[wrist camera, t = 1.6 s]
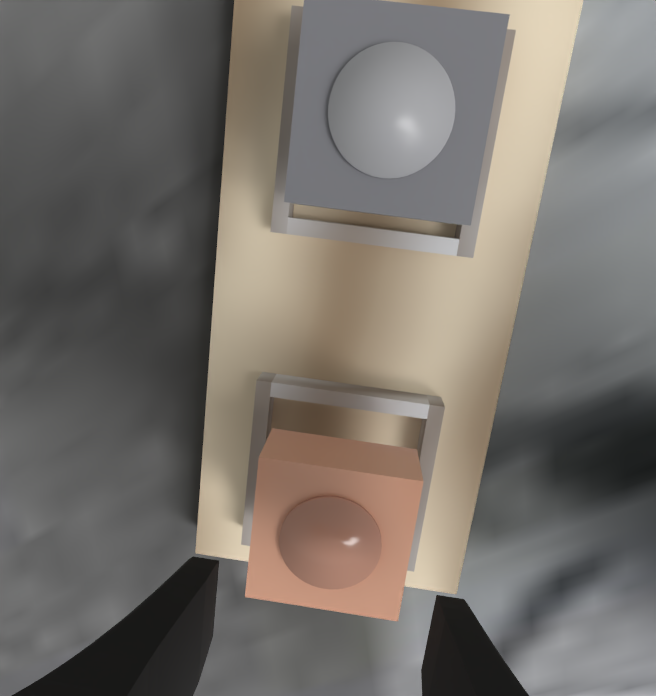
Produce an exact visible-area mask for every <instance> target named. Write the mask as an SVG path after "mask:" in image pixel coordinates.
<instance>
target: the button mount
mask: <svg viewBox="0 0 656 696" xmlns="http://www.w3.org/2000/svg"><path fill="white" fill-rule="evenodd" d="M382 1H392V2H401V3H410V4H419V5H428V6H438V7H447V8H456V9H465V10H474V11H484V12H493V13H502V14H510V16H509V21H508V27H507V32H506V38H505V43H504V48H503V54H502V59H501V65H500V70H499V76H498V81H497V86H496V92H495V97H494V103H493V108H492V113H491V119H490V124H489V130H488V135H487V141H486V146H485V151H484V157H483V162H482V168H481V173H480V178H479V184H478V189H477V195H476V200H475V206H474V211H473V216H472V222H471V226H469V225H457V224H449V223H441V222H433V221H425V220H417V219H409V218H401V217H393V216H385V215H377V214H370V213H362V212H354V211H346V210H338V209H330V208H322V207H314V206H306V205H298V204H292V203H287V202H284V197H285V187H286V177H287V167H288V157H289V147H290V137H291V126H292V116H293V106H294V96H295V86H296V76H297V66H298V56H299V46H300V35H301V25H302V15H303V5H304V0H234V11H233V25H232V40H231V54H230V68H229V82H228V97H227V111H226V125H225V139H224V154H223V168H222V182H221V196H220V211H219V225H218V239H217V253H216V268H215V282H214V296H213V310H212V325H211V339H210V353H209V367H208V382H207V396H206V410H205V424H204V439H203V453H202V467H201V481H200V496H199V510H198V524H197V538H196V553H197V554H203V555H209V556H216V557H222V558H228V559H235V560H241V561H247V562H248V561H249V551H250V541H251V531H252V521H253V511H254V501H255V491H256V481H257V470H258V460H259V456H260V453H261V451H262V449H263V447H264V445H265V443H266V440H267V438H268V436H269V434H270V432H271V430H272V428H274V429H281V430H288V431H295V432H302V433H308V434H315V435H322V436H329V437H336V438H343V439H350V440H357V441H363V442H370V443H377V444H384V445H391V446H398V447H405V448H411V449H417V452H418V457H419V461H420V466H421V471H422V476H423V481H424V482H423V487H422V493H421V498H420V504H419V509H418V514H417V520H416V525H415V531H414V536H413V542H412V547H411V552H410V558H409V563H408V569H407V574H406V579H405V585H404V586H407V587H413V588H419V589H426V590H432V591H438V592H445V593H451V594H457V589H458V584H459V580H460V575H461V570H462V566H463V561H464V556H465V551H466V547H467V542H468V537H469V533H470V528H471V523H472V519H473V514H474V509H475V505H476V500H477V495H478V491H479V486H480V481H481V477H482V472H483V467H484V463H485V458H486V453H487V449H488V444H489V439H490V434H491V430H492V425H493V420H494V416H495V411H496V406H497V402H498V397H499V392H500V388H501V383H502V378H503V374H504V369H505V364H506V360H507V355H508V350H509V346H510V341H511V336H512V332H513V327H514V322H515V318H516V313H517V308H518V303H519V299H520V294H521V289H522V285H523V280H524V275H525V271H526V266H527V261H528V257H529V252H530V247H531V243H532V238H533V233H534V229H535V224H536V219H537V215H538V210H539V205H540V201H541V196H542V191H543V186H544V182H545V177H546V172H547V168H548V163H549V158H550V154H551V149H552V144H553V140H554V135H555V130H556V126H557V121H558V116H559V112H560V107H561V102H562V98H563V93H564V88H565V84H566V79H567V74H568V70H569V65H570V60H571V55H572V51H573V46H574V41H575V37H576V32H577V27H578V23H579V18H580V13H581V9H582V4H583V0H382Z"/></svg>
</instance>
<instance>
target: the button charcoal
mask: <svg viewBox="0 0 656 696" xmlns="http://www.w3.org/2000/svg"><path fill="white" fill-rule="evenodd" d="M509 16H510V14H502V13H493V12H484V11H474V10H465V9H456V8H447V7H438V6H428V5H419V4H410V3H401V2H392V1H382V0H304V5H303V15H302V25H301V35H300V46H299V56H298V66H297V76H296V86H295V96H294V106H293V116H292V126H291V137H290V147H289V157H288V167H287V177H286V187H285V197H284V202H287V203H292V204H298V205H306V206H314V207H322V208H330V209H338V210H346V211H354V212H362V213H370V214H377V215H385V216H393V217H401V218H409V219H417V220H425V221H433V222H441V223H449V224H457V225H469V226H471V222H472V216H473V211H474V206H475V200H476V195H477V189H478V184H479V178H480V173H481V168H482V162H483V157H484V151H485V146H486V141H487V135H488V130H489V124H490V119H491V113H492V108H493V103H494V97H495V92H496V86H497V81H498V76H499V70H500V65H501V59H502V54H503V48H504V43H505V38H506V32H507V27H508V21H509Z"/></svg>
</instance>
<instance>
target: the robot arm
mask: <svg viewBox="0 0 656 696" xmlns="http://www.w3.org/2000/svg"><path fill="white" fill-rule="evenodd" d="M218 568H219V561H217V560H211V559H205V558H198V557H192V558H190V559H189V560H188V561H187V562H185V563H184V564H183V565H182V566H181V567H180V568H179V569H178V570H177V571H176V572H175V573H174V574H173V575H172V576H171V577H170V578H169V579H168V580H167V581H166V582H165V583H163V584H162V585H161V586H160V587H159V588H158V589H157V590H156V591H155V592H154V593H153V594H151V595H150V596H149V597H148V598H147V599H146V600H145V601H143V602H142V603H141V604H140V605H139V606H138V607H137V608H135V609H134V610H133V611H132V612H131V613H130V614H128V615H127V616H126V617H125V618H124V619H122V620H121V621H120V622H119V623H117V624H116V625H115V626H114V627H112V628H111V629H110V630H109V631H107V632H106V633H105V634H103V635H102V636H101V637H100V638H98V639H97V640H96V641H95V642H93V643H92V644H91V645H89V646H88V647H86V648H85V649H84V650H82V651H81V652H80V653H78V654H77V655H75V656H74V657H73V658H71V659H70V660H68V661H67V662H65V663H64V664H62V665H61V666H59V667H58V668H56V669H55V670H53V671H52V672H50V673H49V674H47V675H46V676H44V677H43V678H41V679H39V680H38V681H36V682H34V683H33V684H31V685H29V686H28V687H26V688H24V689H22V690H21V691H19V692H17V693H15V694H14V695H12V696H193V694H194V692H195V690H196V687H197V685H198V682H199V679H200V676H201V673H202V670H203V667H204V663H205V660H206V657H207V654H208V650H209V647H210V644H211V640H212V637H213V628H214V616H215V604H216V592H217V580H218ZM421 672H422V696H529V695H528V694H527V692H526V691H525V690H524V688H523V687H522V685H521V684H520V683H519V681H518V680H517V678H516V677H515V676H514V674H513V673H512V671H511V670H510V668H509V667H508V666H507V664H506V663H505V661H504V660H503V658H502V657H501V655H500V654H499V652H498V651H497V649H496V648H495V646H494V645H493V643H492V642H491V640H490V639H489V637H488V636H487V634H486V632H485V631H484V629H483V628H482V626H481V625H480V623H479V621H478V620H477V618H476V617H475V615H474V613H473V612H472V610H471V609H470V607H469V606H468V604H467V603H466V601H465V600H464V599H459V598H452V597H446V596H440V595H437V596H436V601H435V606H434V611H433V615H432V620H431V625H430V630H429V635H428V640H427V645H426V650H425V655H424V660H423V665H422V670H421Z"/></svg>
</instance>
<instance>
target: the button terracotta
mask: <svg viewBox="0 0 656 696" xmlns="http://www.w3.org/2000/svg"><path fill="white" fill-rule="evenodd" d="M423 482H424V481H423V476H422V471H421V466H420V461H419V457H418V452H417V449H411V448H405V447H398V446H391V445H384V444H377V443H370V442H363V441H357V440H350V439H343V438H336V437H329V436H322V435H315V434H308V433H302V432H295V431H288V430H281V429H274V428H272V430H271V432H270V434H269V436H268V438H267V440H266V443H265V445H264V447H263V449H262V451H261V453H260V456H259V460H258V470H257V481H256V491H255V501H254V511H253V521H252V531H251V541H250V551H249V561H248V572H247V582H246V592H245V597H249V598H255V599H261V600H268V601H274V602H280V603H286V604H293V605H299V606H305V607H311V608H318V609H324V610H330V611H336V612H342V613H349V614H355V615H361V616H367V617H374V618H380V619H386V620H392V621H398V617H399V612H400V607H401V601H402V596H403V590H404V585H405V579H406V574H407V569H408V563H409V558H410V552H411V547H412V542H413V536H414V531H415V525H416V520H417V514H418V509H419V504H420V498H421V493H422V487H423Z"/></svg>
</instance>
